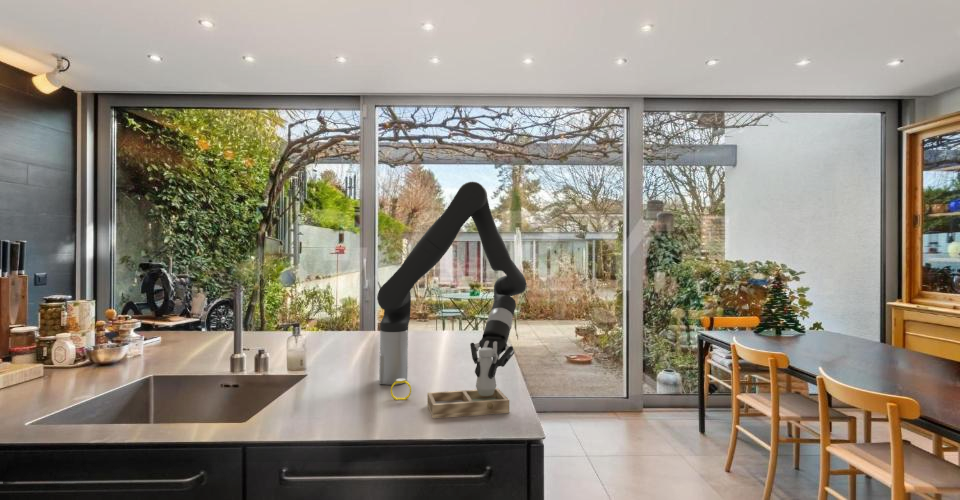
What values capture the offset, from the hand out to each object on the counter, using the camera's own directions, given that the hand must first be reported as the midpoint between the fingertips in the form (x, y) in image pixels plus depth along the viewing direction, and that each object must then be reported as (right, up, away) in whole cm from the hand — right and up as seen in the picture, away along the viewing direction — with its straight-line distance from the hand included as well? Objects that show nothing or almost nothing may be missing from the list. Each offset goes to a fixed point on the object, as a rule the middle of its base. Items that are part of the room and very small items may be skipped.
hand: (484, 376), depth 131 cm
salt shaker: (+1, -6, +2) cm, 6 cm away
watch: (-25, -9, +7) cm, 27 cm away
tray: (-5, -9, 0) cm, 10 cm away
